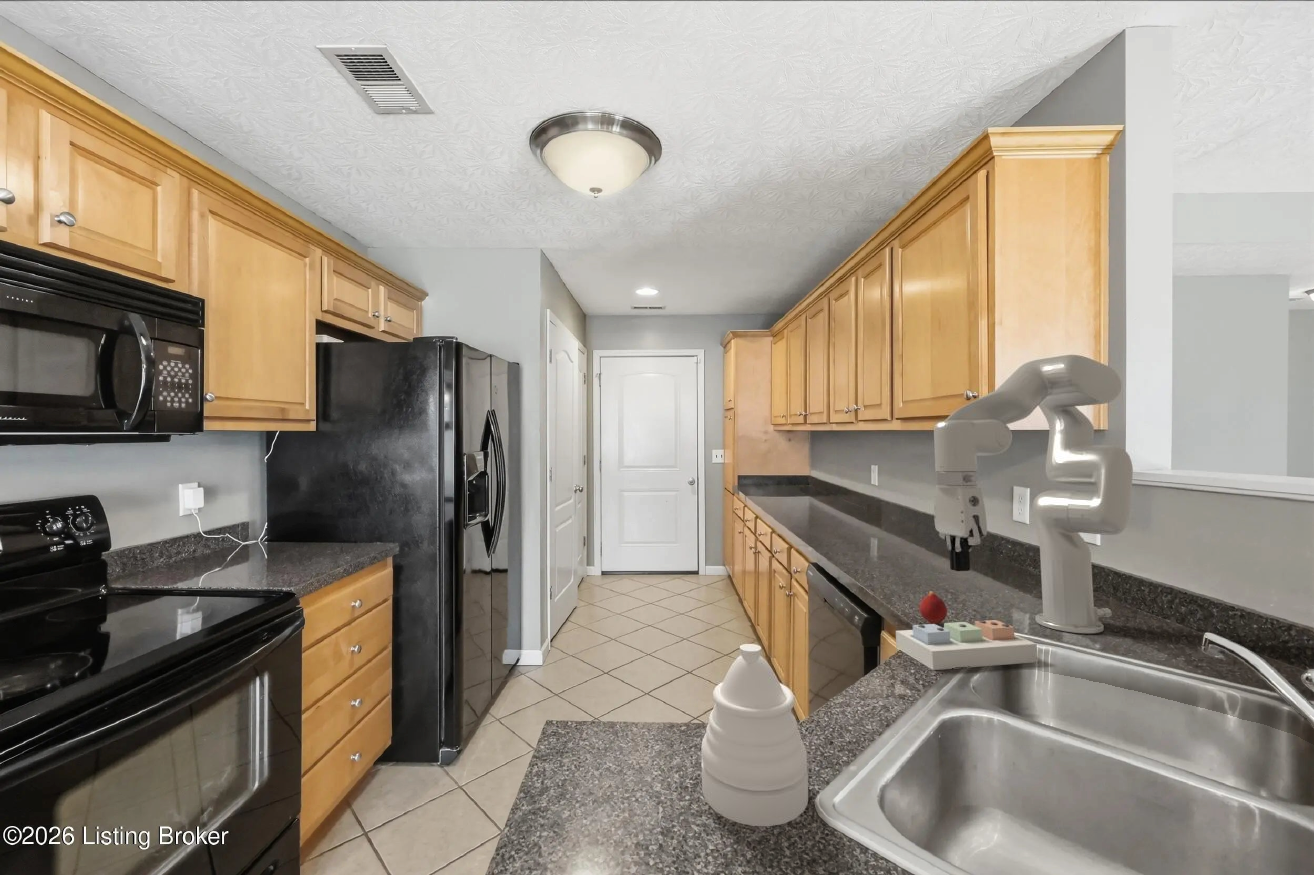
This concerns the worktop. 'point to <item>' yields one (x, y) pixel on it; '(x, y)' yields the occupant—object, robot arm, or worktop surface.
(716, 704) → the honey pot
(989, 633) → the key three
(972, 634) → the key one
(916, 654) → the key board
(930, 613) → the onion
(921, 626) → the key two
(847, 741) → the worktop surface
